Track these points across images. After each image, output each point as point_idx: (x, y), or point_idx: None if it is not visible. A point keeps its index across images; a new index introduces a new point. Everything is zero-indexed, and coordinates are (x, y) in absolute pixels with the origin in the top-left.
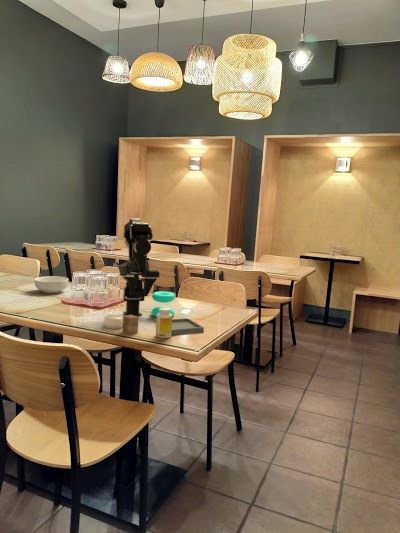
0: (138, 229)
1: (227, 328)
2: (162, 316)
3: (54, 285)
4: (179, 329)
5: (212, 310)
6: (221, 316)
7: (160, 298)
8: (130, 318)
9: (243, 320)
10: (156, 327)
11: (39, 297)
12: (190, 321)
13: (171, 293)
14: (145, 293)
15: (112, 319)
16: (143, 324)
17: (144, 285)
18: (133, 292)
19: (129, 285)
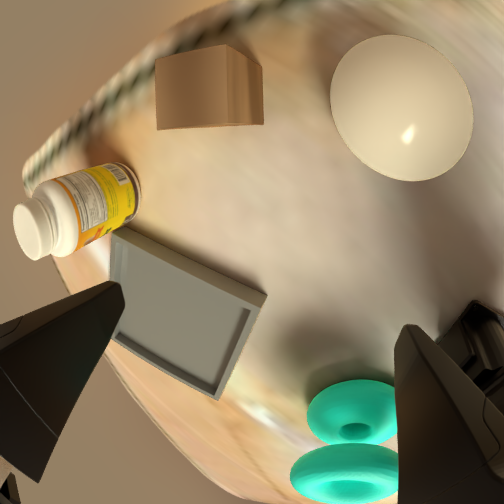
0: None
1: (131, 386)
2: (34, 190)
3: None
4: (110, 267)
5: (285, 482)
6: (227, 458)
7: (325, 457)
8: (155, 65)
9: (176, 446)
10: (98, 170)
11: None
12: (190, 380)
13: (315, 498)
14: (83, 293)
15: (363, 52)
16: (313, 255)
17: (6, 333)
18: (398, 365)
19: (461, 410)
